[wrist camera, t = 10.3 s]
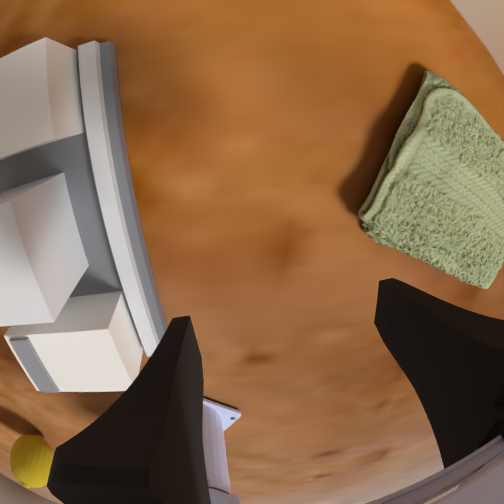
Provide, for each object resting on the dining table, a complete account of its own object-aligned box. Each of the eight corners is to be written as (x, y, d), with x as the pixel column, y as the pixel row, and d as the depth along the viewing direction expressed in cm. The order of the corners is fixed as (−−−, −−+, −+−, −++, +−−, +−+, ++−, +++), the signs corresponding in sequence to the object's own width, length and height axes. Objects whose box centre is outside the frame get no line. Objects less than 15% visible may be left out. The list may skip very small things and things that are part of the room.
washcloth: (413, 62, 17) (441, 59, 14) (524, 176, 22) (546, 185, 19) (339, 224, 21) (359, 242, 18) (470, 288, 26) (489, 305, 23)
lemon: (61, 452, 28) (51, 502, 21) (24, 437, 27) (9, 485, 19) (58, 432, 26) (44, 488, 19) (17, 415, 25) (-2, 468, 18)
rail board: (170, 336, 22) (165, 391, 17) (39, 346, 21) (16, 392, 16) (115, 44, 14) (82, 20, 9) (-33, 105, 13) (-84, 111, 8)
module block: (89, 265, 18) (54, 322, 13) (34, 274, 18) (-7, 326, 12) (63, 172, 15) (10, 200, 10) (8, 189, 15) (-50, 221, 10)
